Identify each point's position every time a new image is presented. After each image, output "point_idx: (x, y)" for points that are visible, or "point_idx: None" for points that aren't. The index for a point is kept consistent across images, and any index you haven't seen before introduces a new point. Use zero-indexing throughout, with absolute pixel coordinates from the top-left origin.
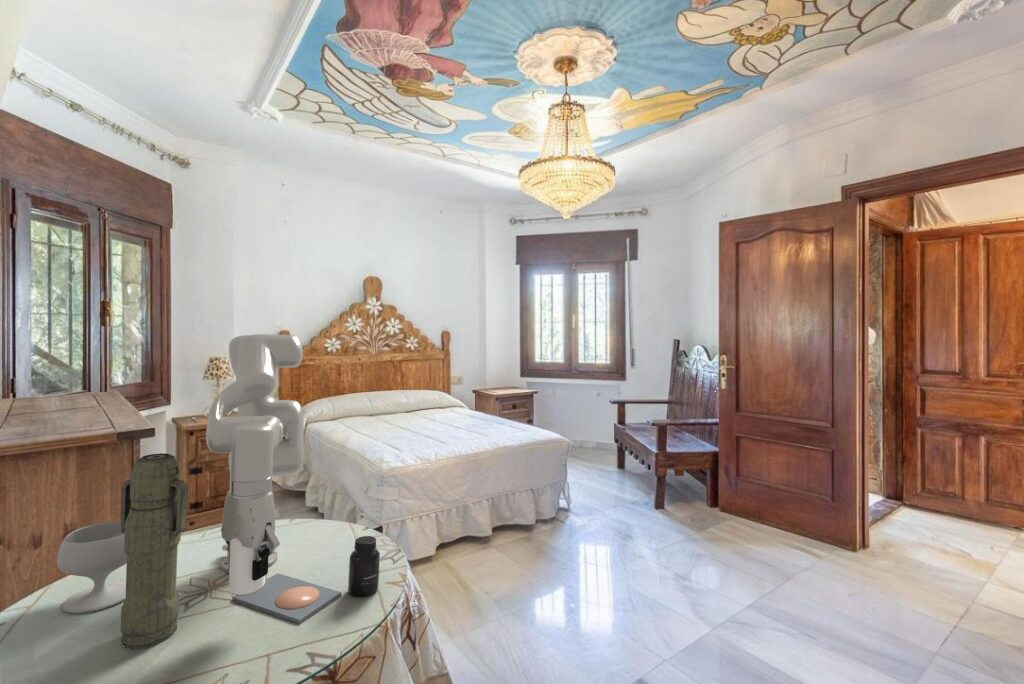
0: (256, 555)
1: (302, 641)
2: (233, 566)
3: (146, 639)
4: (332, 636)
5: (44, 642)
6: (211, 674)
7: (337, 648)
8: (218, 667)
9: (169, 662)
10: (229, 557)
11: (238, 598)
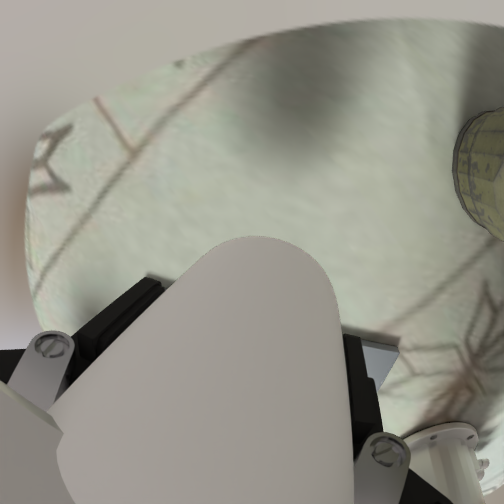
0: (47, 362)
1: (98, 220)
2: (250, 301)
3: (482, 117)
4: (62, 250)
5: None
6: (215, 51)
7: (36, 217)
8: (217, 75)
9: (366, 65)
10: (366, 396)
11: (379, 350)
